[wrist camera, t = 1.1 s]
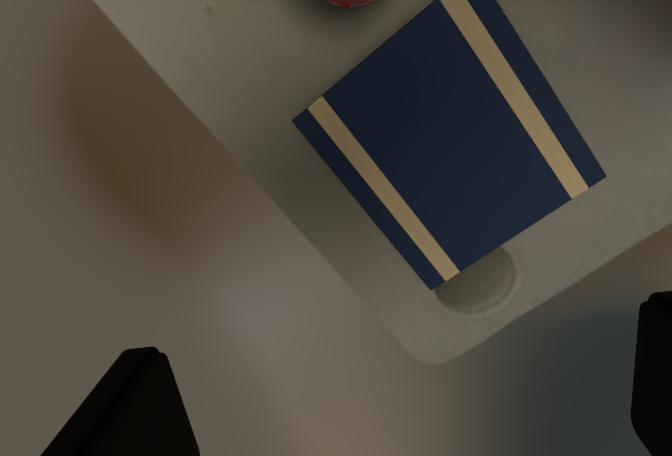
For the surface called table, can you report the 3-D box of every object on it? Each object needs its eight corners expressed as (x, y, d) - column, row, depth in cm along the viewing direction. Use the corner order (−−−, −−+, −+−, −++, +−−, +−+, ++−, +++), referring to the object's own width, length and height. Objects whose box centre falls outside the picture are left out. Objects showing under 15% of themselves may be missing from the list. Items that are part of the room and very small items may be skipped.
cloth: (292, 120, 35) (291, 121, 34) (473, -33, 31) (475, -34, 30) (430, 288, 39) (430, 291, 39) (604, 175, 35) (607, 176, 35)
